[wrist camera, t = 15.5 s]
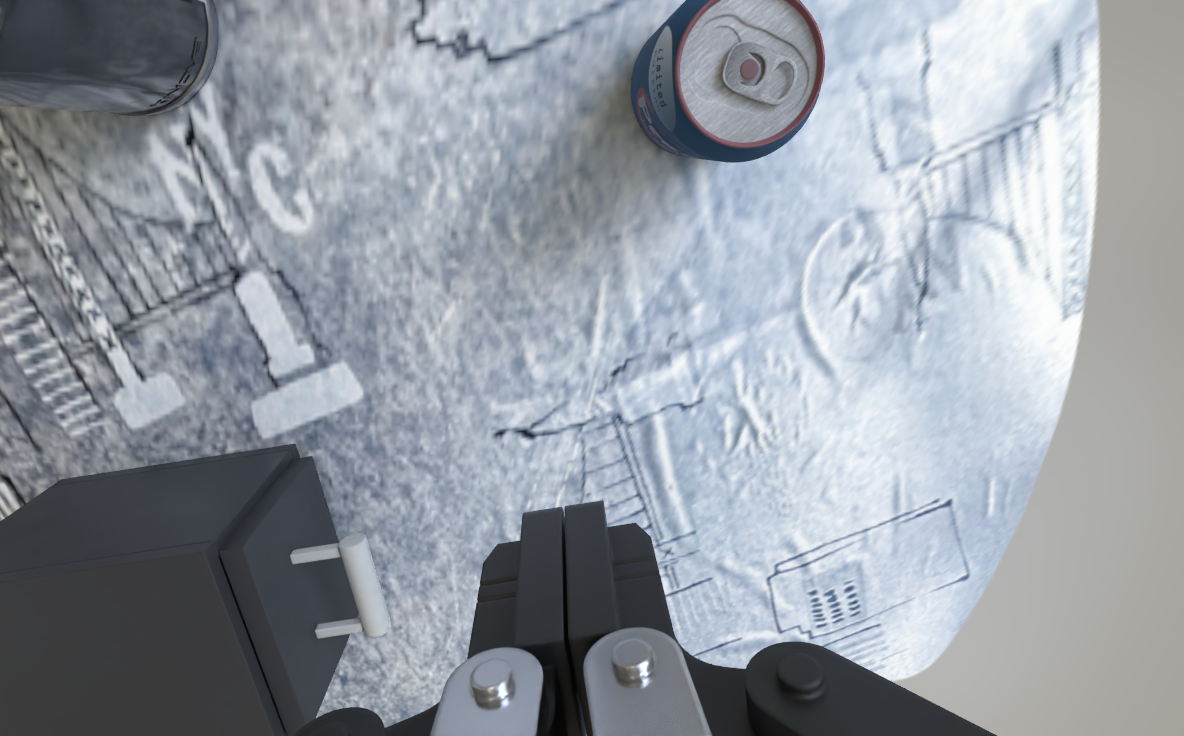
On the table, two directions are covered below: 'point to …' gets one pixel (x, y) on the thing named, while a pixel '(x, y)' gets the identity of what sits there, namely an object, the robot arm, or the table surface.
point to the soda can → (729, 78)
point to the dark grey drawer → (300, 590)
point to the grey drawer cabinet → (133, 604)
